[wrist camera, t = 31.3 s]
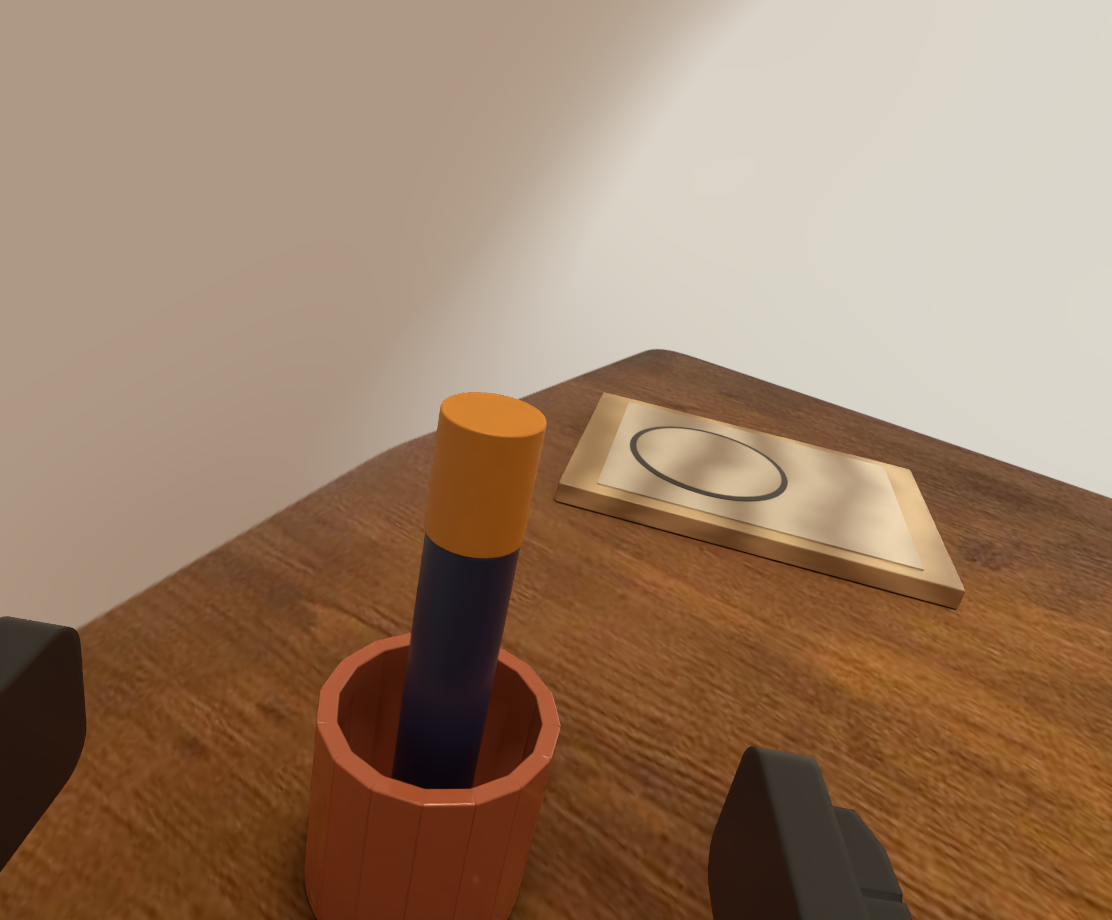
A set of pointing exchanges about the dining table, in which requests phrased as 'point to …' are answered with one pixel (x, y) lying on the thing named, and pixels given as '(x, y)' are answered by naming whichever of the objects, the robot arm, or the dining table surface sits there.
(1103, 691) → the dining table surface
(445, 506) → the marker
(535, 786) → the pen pot
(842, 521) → the drawing board
